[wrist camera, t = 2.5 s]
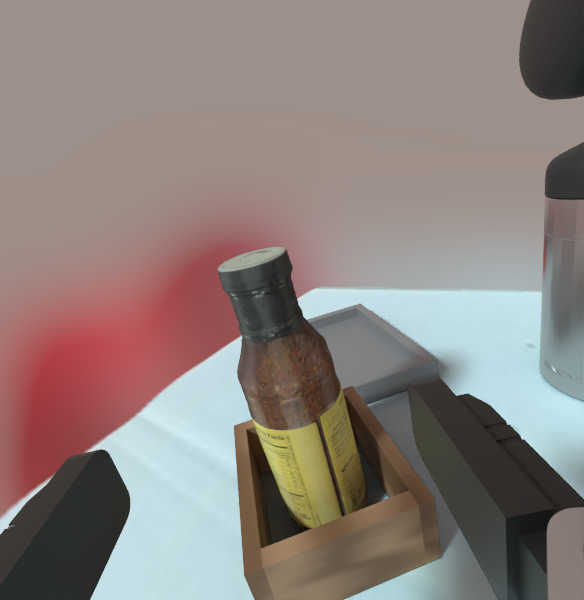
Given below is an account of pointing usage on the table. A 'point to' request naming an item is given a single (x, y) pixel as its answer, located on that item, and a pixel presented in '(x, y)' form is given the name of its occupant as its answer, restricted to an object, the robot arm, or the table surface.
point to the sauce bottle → (293, 392)
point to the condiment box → (337, 524)
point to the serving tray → (372, 353)
